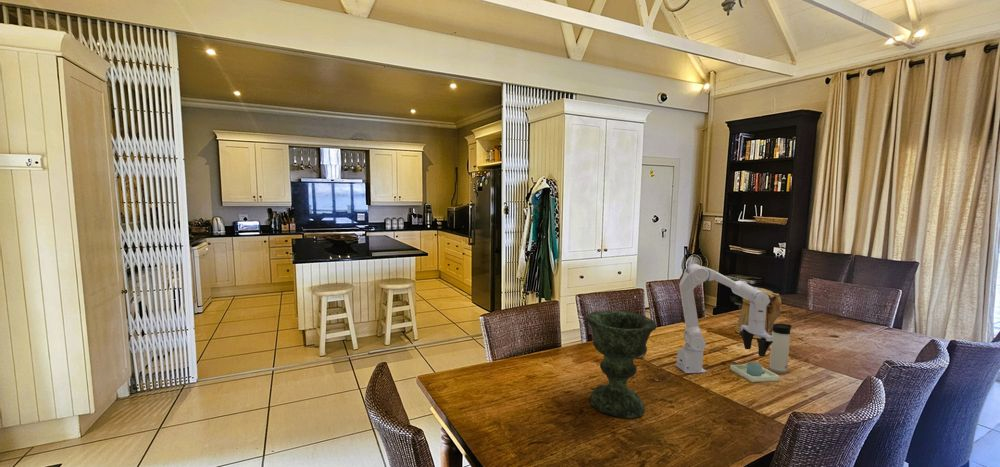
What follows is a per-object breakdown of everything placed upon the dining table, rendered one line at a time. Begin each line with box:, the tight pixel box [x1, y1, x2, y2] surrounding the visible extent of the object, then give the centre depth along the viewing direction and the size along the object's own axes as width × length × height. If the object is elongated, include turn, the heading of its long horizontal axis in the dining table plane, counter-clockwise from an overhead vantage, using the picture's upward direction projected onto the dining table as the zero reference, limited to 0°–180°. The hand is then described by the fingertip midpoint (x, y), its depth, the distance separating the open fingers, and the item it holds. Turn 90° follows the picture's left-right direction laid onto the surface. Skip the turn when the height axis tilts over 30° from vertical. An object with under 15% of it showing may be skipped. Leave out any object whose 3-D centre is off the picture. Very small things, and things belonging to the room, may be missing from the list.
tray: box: [730, 363, 780, 383], centre depth 165 cm, size 12×12×2 cm
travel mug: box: [768, 323, 792, 375], centre depth 169 cm, size 6×7×20 cm
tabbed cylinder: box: [746, 361, 765, 377], centre depth 165 cm, size 7×5×4 cm
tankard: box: [734, 286, 783, 339], centre depth 214 cm, size 18×24×25 cm
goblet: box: [584, 310, 658, 419], centre depth 138 cm, size 22×22×30 cm
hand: (754, 352), depth 165 cm, fingers open, 7 cm apart
